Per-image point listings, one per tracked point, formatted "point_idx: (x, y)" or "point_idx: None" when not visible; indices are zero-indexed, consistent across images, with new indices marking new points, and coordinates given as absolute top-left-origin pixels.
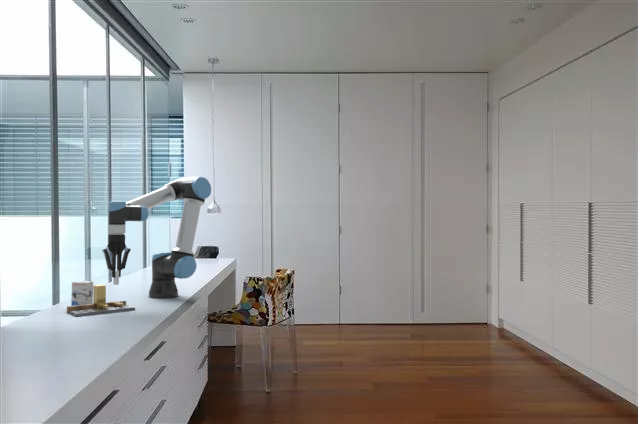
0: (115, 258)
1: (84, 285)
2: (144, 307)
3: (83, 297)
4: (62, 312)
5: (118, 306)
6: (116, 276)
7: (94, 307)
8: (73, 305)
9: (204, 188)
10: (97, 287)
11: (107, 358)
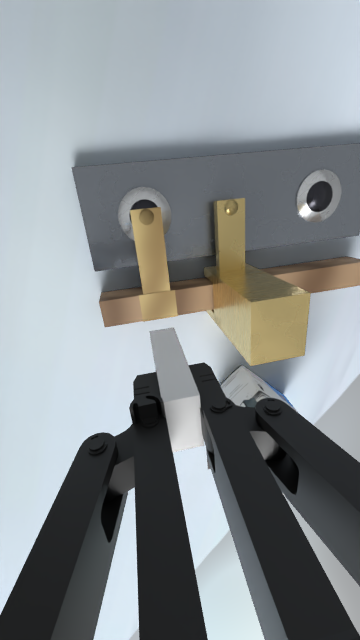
0: (278, 576)
1: None
2: (7, 233)
3: (272, 396)
4: (351, 291)
5: None
6: (179, 361)
7: None
8: (281, 394)
9: None
10: (301, 290)
11: None
